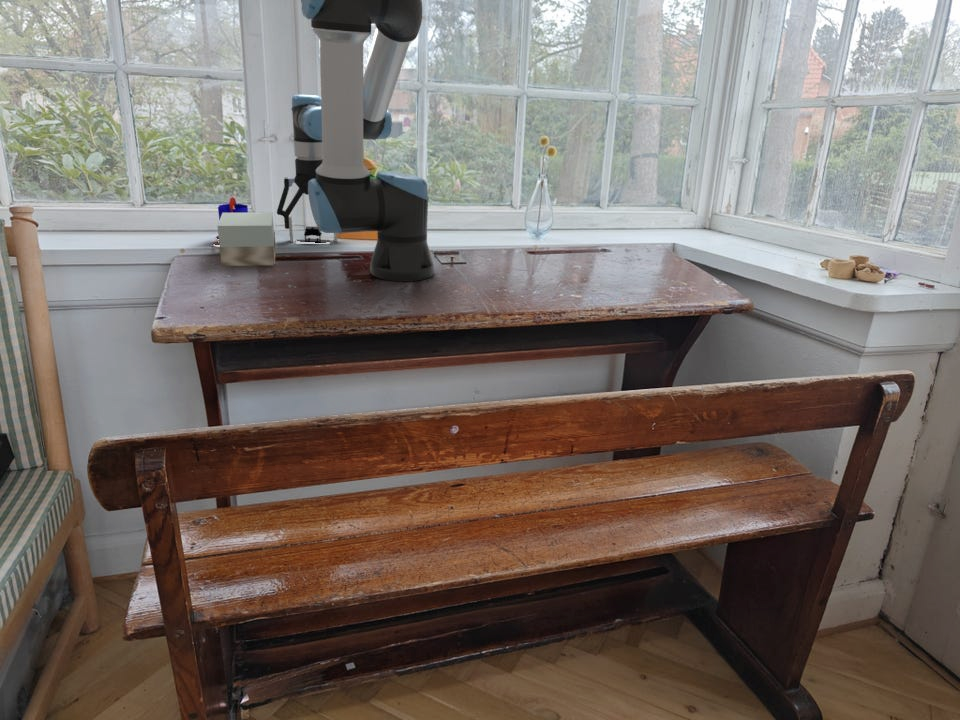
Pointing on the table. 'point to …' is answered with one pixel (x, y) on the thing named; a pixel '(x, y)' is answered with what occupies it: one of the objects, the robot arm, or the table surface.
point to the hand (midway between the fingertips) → (313, 240)
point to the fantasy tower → (231, 210)
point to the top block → (246, 230)
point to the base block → (248, 255)
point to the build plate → (313, 231)
